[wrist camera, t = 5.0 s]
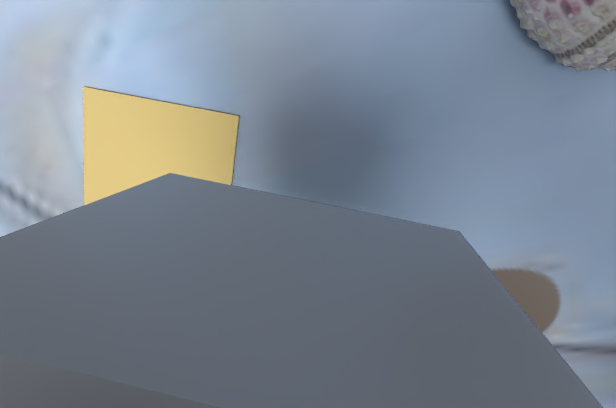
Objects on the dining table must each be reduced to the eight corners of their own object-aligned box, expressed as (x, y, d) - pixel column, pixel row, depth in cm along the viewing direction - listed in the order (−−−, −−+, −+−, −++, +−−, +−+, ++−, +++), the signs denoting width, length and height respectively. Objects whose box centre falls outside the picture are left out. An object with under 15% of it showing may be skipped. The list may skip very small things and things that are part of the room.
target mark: (222, 263, 30) (222, 264, 30) (86, 233, 30) (84, 234, 30) (239, 115, 26) (238, 116, 26) (84, 87, 27) (82, 86, 27)
